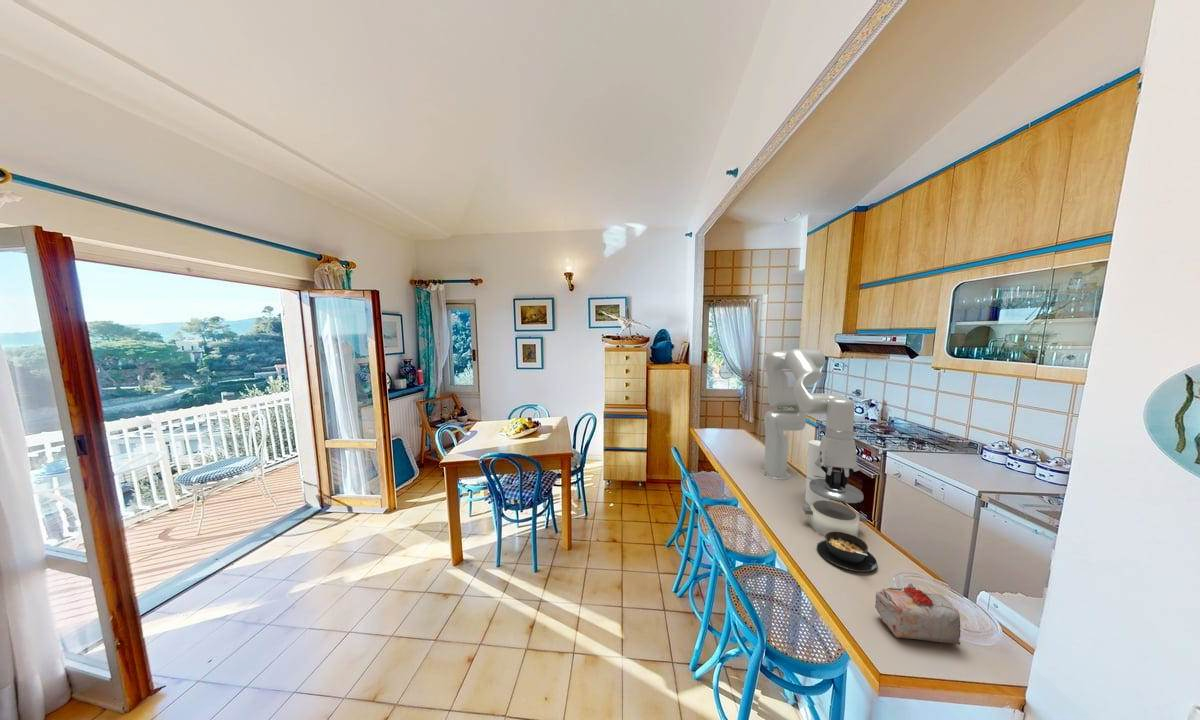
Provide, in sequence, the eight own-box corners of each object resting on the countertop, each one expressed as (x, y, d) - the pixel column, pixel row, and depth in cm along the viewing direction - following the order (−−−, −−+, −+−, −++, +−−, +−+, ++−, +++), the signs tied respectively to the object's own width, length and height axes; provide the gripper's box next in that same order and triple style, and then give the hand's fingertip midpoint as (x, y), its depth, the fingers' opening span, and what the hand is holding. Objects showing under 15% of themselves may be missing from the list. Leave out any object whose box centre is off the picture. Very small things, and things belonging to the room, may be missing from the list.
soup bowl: (872, 552, 104) (873, 530, 104) (882, 586, 91) (884, 560, 90) (815, 537, 112) (816, 516, 111) (817, 566, 98) (819, 542, 98)
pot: (797, 514, 125) (798, 496, 125) (854, 522, 120) (856, 503, 120) (809, 536, 112) (810, 516, 111) (874, 546, 107) (875, 525, 106)
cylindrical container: (825, 510, 128) (829, 447, 126) (804, 504, 133) (807, 443, 130) (826, 502, 134) (830, 442, 132) (806, 497, 138) (809, 439, 136)
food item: (894, 642, 74) (897, 601, 73) (870, 612, 82) (873, 575, 81) (964, 650, 72) (968, 608, 71) (933, 619, 80) (937, 581, 79)
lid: (803, 479, 124) (804, 461, 124) (851, 485, 120) (852, 465, 119) (817, 499, 110) (818, 478, 109) (872, 506, 105) (873, 484, 105)
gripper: (862, 432, 114) (858, 484, 116) (808, 429, 119) (805, 478, 121) (873, 439, 107) (869, 494, 109) (815, 435, 112) (812, 487, 113)
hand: (835, 485), depth 115 cm, fingers closed on lid, 3 cm apart
